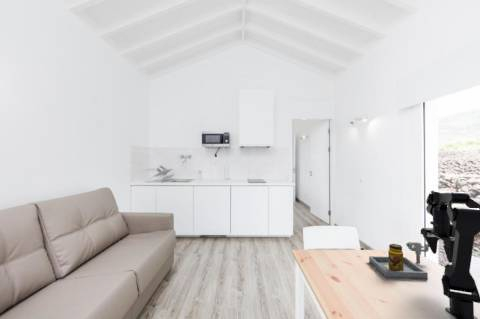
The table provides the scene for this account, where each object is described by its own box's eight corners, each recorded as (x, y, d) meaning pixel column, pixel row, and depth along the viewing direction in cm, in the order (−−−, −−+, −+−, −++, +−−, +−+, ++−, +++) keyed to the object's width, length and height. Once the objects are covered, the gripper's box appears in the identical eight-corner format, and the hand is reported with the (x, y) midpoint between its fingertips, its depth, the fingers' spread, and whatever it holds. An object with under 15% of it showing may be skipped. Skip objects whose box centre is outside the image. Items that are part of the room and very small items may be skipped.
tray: (427, 279, 111) (427, 272, 111) (385, 278, 113) (385, 271, 113) (405, 262, 129) (405, 257, 129) (369, 261, 130) (369, 256, 130)
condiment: (391, 272, 116) (390, 247, 116) (383, 265, 124) (383, 241, 124) (408, 273, 115) (407, 248, 115) (399, 266, 123) (399, 242, 123)
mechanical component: (430, 264, 126) (430, 244, 126) (408, 262, 128) (408, 243, 128) (427, 261, 129) (427, 242, 129) (406, 260, 131) (405, 241, 131)
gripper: (482, 226, 93) (482, 268, 93) (445, 215, 111) (446, 250, 111) (450, 226, 94) (451, 267, 94) (419, 215, 112) (420, 249, 112)
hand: (442, 257), depth 103 cm, fingers open, 9 cm apart
